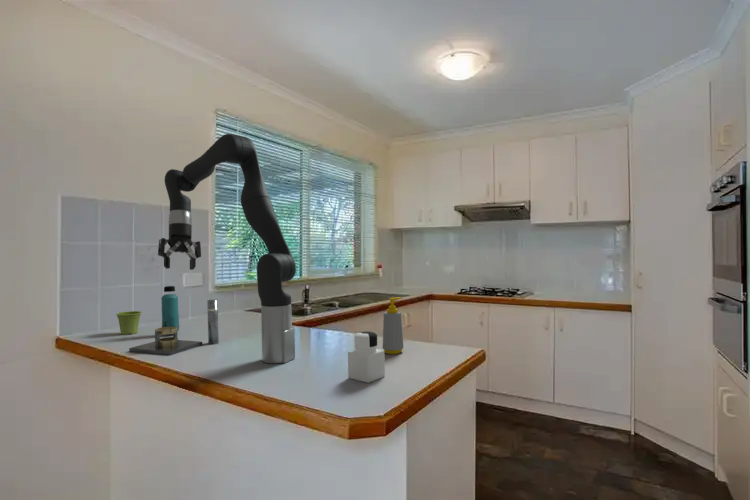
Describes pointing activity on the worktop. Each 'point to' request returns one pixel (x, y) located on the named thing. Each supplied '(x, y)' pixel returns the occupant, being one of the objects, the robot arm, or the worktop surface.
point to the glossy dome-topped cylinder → (212, 321)
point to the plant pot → (129, 322)
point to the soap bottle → (392, 329)
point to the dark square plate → (166, 343)
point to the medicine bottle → (366, 358)
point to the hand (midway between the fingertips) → (180, 268)
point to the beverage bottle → (170, 308)
